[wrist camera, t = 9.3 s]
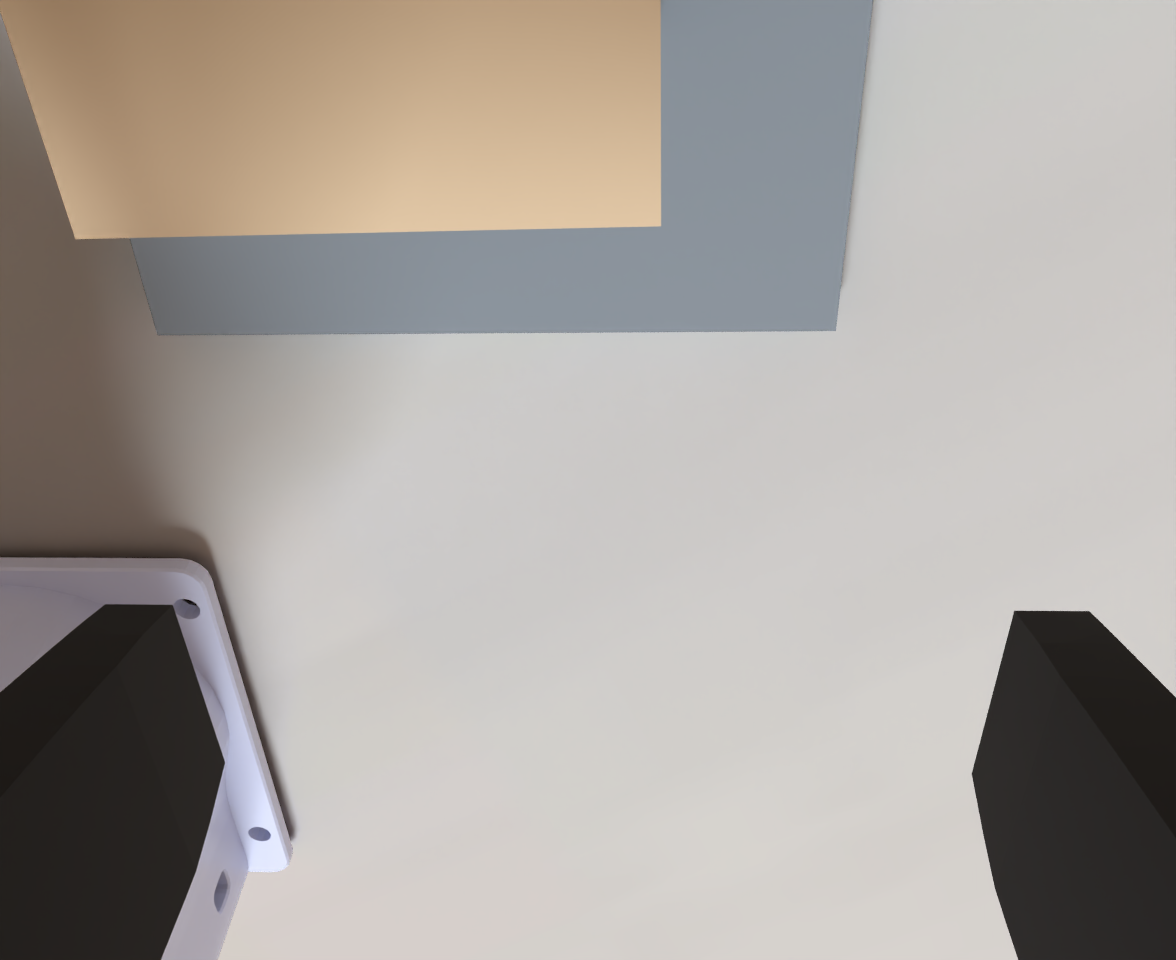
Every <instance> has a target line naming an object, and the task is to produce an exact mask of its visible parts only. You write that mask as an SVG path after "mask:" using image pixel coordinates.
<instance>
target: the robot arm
mask: <svg viewBox="0 0 1176 960" xmlns="http://www.w3.org/2000/svg"><path fill="white" fill-rule="evenodd" d="M183 599H187V600H191V601H193V602H194V603H196V604H197V605H198V606H195V605H190V604H188V603H187V602H185V601H184V600H183ZM972 777H973V782H974V787H975V793H976V798H977V803H978V808H979V814H980V819H981V824H982V829H983V834H984V839H985V844H986V848H987V853H988V858H989V862H990V867H991V872H992V876H993V881H994V885H995V889H996V892H997V896H998V899H999V902H1000V905H1001V908H1002V911H1003V914H1004V918H1005V921H1006V924H1007V927H1008V930H1009V933H1010V936H1011V939H1012V942H1013V945H1014V948H1015V951H1016V954H1017V957H1018V960H1176V697H1175V696H1174V695H1173V694H1172V693H1171V692H1170V691H1169V690H1168V689H1167V688H1166V687H1165V686H1164V685H1163V684H1162V683H1161V682H1160V681H1159V680H1158V679H1157V678H1156V677H1155V676H1154V675H1153V674H1152V673H1151V672H1150V671H1149V670H1148V669H1147V668H1146V667H1145V666H1144V665H1143V664H1142V663H1141V662H1140V661H1139V660H1138V659H1137V658H1136V657H1135V656H1134V655H1133V654H1132V653H1131V652H1130V651H1129V650H1128V649H1127V648H1126V647H1125V646H1124V645H1123V644H1122V643H1121V642H1120V641H1119V640H1118V639H1117V638H1116V637H1115V636H1114V635H1113V634H1112V633H1111V632H1110V631H1109V630H1108V629H1107V628H1106V627H1105V626H1104V625H1103V624H1102V623H1101V622H1100V621H1099V620H1098V619H1097V618H1096V617H1095V616H1094V615H1092V614H1091V613H1090V612H1089V611H1014V615H1013V619H1012V622H1011V626H1010V630H1009V634H1008V638H1007V641H1006V645H1005V649H1004V653H1003V657H1002V661H1001V664H1000V668H999V672H998V676H997V680H996V684H995V687H994V691H993V695H992V699H991V703H990V706H989V710H988V714H987V718H986V722H985V726H984V729H983V733H982V737H981V741H980V745H979V749H978V752H977V756H976V760H975V764H974V768H973V772H972ZM292 854H293V848H292V845H291V841H290V838H289V835H288V831H287V828H286V824H285V821H284V818H283V814H282V811H281V808H280V804H279V801H278V798H277V794H276V791H275V788H274V784H273V781H272V778H271V774H270V771H269V768H268V764H267V761H266V758H265V754H264V751H263V748H262V744H261V741H260V738H259V734H258V731H257V728H256V724H255V721H254V718H253V714H252V711H251V708H250V704H249V701H248V698H247V694H246V691H245V688H244V684H243V681H242V678H241V674H240V671H239V668H238V664H237V661H236V658H235V654H234V651H233V648H232V644H231V641H230V638H229V634H228V631H227V628H226V624H225V621H224V618H223V614H222V611H221V608H220V604H219V601H218V598H217V594H216V591H215V588H214V584H213V581H212V578H211V576H210V574H209V572H208V571H207V570H206V569H205V568H204V567H203V566H202V565H200V564H199V563H196V562H194V561H192V560H188V559H182V558H14V557H0V960H218V957H219V954H220V952H221V949H222V946H223V943H224V940H225V937H226V934H227V931H228V928H229V925H230V923H231V920H232V917H233V914H234V911H235V908H236V905H237V902H238V899H239V897H240V894H241V891H242V888H243V885H244V882H245V879H246V876H247V873H248V872H277V871H281V870H283V869H285V868H287V866H288V865H289V863H290V860H291V857H292Z"/></svg>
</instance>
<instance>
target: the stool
mask: <svg viewBox="0 0 1176 960" xmlns="http://www.w3.org/2000/svg"><path fill="white" fill-rule="evenodd" d="M0 12H1V15H2V18H3V21H4V24H5V27H6V31H7V34H8V37H9V40H10V43H11V46H12V49H13V52H14V55H15V58H16V61H17V64H18V67H19V70H20V73H21V76H22V79H23V82H24V85H25V88H26V91H27V94H28V97H29V100H30V103H31V106H32V109H33V112H34V115H35V118H36V121H37V124H38V127H39V130H40V133H41V137H42V140H43V143H44V146H45V149H46V152H47V155H48V158H49V161H50V164H51V167H52V170H53V173H54V176H55V179H56V182H57V185H58V188H59V191H60V194H61V197H62V200H63V203H64V206H65V209H66V212H67V215H68V218H69V221H70V224H71V227H72V230H73V233H74V236H75V239H105V238H151V237H196V236H242V235H288V234H333V233H379V232H425V231H470V230H516V229H562V228H608V227H653V226H661V0H0Z"/></svg>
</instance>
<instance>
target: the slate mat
mask: <svg viewBox="0 0 1176 960" xmlns="http://www.w3.org/2000/svg"><path fill="white" fill-rule="evenodd" d="M872 4H873V0H661V226H653V227H608V228H562V229H516V230H470V231H425V232H379V233H333V234H288V235H242V236H196V237H151V238H130V241H131V245H132V248H133V252H134V255H135V259H136V262H137V266H138V269H139V273H140V276H141V280H142V283H143V286H144V290H145V293H146V297H147V300H148V304H149V307H150V311H151V314H152V318H153V321H154V325H155V328H156V331H157V335H277V334H434V333H590V332H746V331H836V324H837V315H838V306H839V297H840V288H841V280H842V271H843V262H844V253H845V244H846V235H847V226H848V217H849V209H850V200H851V191H852V182H853V173H854V164H855V155H856V146H857V138H858V129H859V120H860V111H861V102H862V93H863V84H864V75H865V67H866V58H867V49H868V40H869V31H870V22H871V13H872Z"/></svg>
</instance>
